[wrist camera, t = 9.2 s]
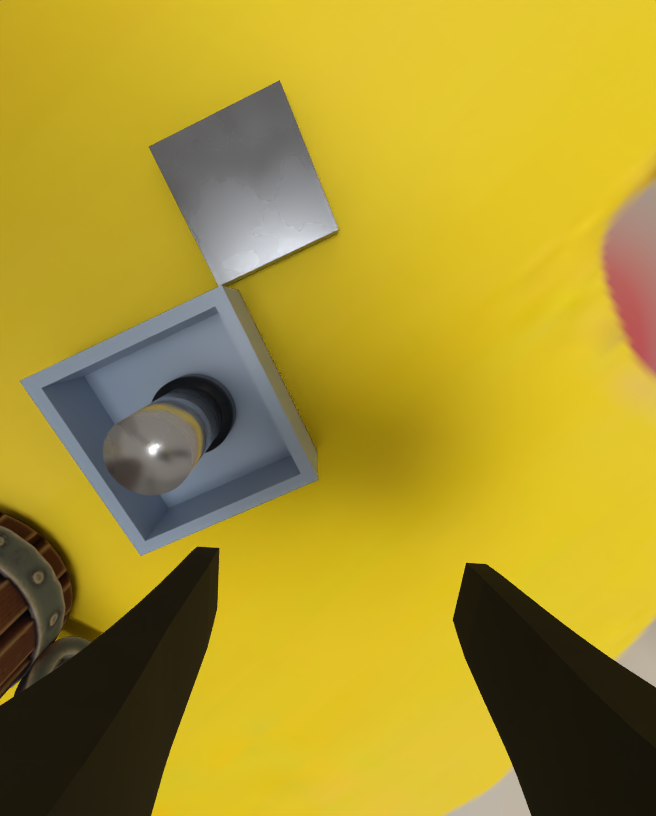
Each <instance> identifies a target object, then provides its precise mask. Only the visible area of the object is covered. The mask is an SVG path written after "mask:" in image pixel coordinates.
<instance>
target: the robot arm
mask: <svg viewBox="0 0 656 816" xmlns="http://www.w3.org/2000/svg"><path fill="white" fill-rule="evenodd" d="M218 571H219V548H209V547H196V548H195V549H194V550H193V551H192V552H191V553H190V554H189V555H188V556H187V557H186V558H185V559H184V560H183V561H182V562H181V563H180V564H179V565H178V566H177V567H176V568H175V569H174V570H173V571H172V572H171V573H170V574H169V575H168V576H167V577H166V578H165V579H164V580H163V581H162V582H161V583H160V584H159V585H158V586H157V587H155V588H154V589H153V590H152V591H151V592H150V593H149V594H148V595H147V596H146V597H145V598H144V599H143V600H142V601H140V602H139V603H138V604H137V605H136V606H135V607H134V608H132V609H131V610H130V611H129V612H128V613H127V614H125V615H124V616H123V617H122V618H121V619H120V620H118V621H117V622H116V623H115V624H114V625H113V626H111V627H110V628H109V629H108V630H107V631H105V632H104V633H103V634H102V635H100V636H99V637H98V638H97V639H95V640H94V641H93V642H92V643H90V644H89V645H88V646H86V647H85V648H84V649H82V650H81V651H80V652H78V653H77V654H76V655H74V656H73V657H72V658H70V659H69V660H68V661H66V662H65V663H63V664H62V665H61V666H59V667H58V668H56V669H55V670H53V671H52V672H51V673H49V674H47V675H46V676H44V677H43V678H41V679H40V680H38V681H37V682H35V683H34V684H32V685H31V686H29V687H28V688H26V689H25V690H23V691H22V692H20V693H19V694H17V695H16V696H14V697H13V698H11V699H10V700H8V701H7V702H5V703H4V704H2V705H0V816H151V814H152V810H153V807H154V803H155V800H156V796H157V792H158V789H159V785H160V782H161V778H162V775H163V771H164V768H165V765H166V762H167V759H168V756H169V753H170V750H171V747H172V744H173V741H174V738H175V735H176V733H177V730H178V727H179V724H180V722H181V719H182V716H183V713H184V711H185V708H186V705H187V702H188V700H189V697H190V694H191V691H192V689H193V686H194V683H195V681H196V678H197V675H198V672H199V669H200V667H201V664H202V661H203V658H204V655H205V653H206V650H207V647H208V643H209V639H210V635H211V631H212V627H213V623H214V619H215V615H216V611H217V600H218ZM453 622H454V625H455V628H456V632H457V635H458V638H459V641H460V644H461V647H462V650H463V653H464V656H465V659H466V661H467V664H468V666H469V668H470V671H471V673H472V675H473V677H474V680H475V682H476V684H477V686H478V689H479V691H480V693H481V695H482V697H483V700H484V702H485V704H486V706H487V708H488V711H489V713H490V715H491V717H492V720H493V722H494V724H495V726H496V728H497V731H498V733H499V735H500V737H501V739H502V742H503V744H504V746H505V748H506V751H507V753H508V755H509V758H510V760H511V762H512V765H513V767H514V770H515V772H516V774H517V777H518V780H519V783H520V785H521V788H522V791H523V794H524V796H525V799H526V802H527V804H528V807H529V810H530V813H531V816H656V688H655V687H654V686H652V685H651V684H649V683H648V682H646V681H645V680H643V679H642V678H640V677H639V676H637V675H636V674H634V673H632V672H631V671H629V670H628V669H626V668H625V667H623V666H622V665H620V664H619V663H617V662H616V661H614V660H613V659H611V658H610V657H608V656H607V655H605V654H604V653H603V652H601V651H600V650H598V649H597V648H596V647H594V646H593V645H591V644H590V643H589V642H587V641H586V640H585V639H583V638H582V637H580V636H579V635H578V634H576V633H575V632H574V631H572V630H571V629H570V628H568V627H567V626H566V625H564V624H563V623H562V622H560V621H559V620H558V619H556V618H555V617H554V616H552V615H551V614H550V613H549V612H547V611H546V610H545V609H543V608H542V607H541V606H540V605H538V604H537V603H536V602H535V601H533V600H532V599H531V598H530V597H528V596H527V595H526V594H525V593H523V592H522V591H521V590H519V589H518V588H517V587H516V586H514V585H513V584H512V583H511V582H509V581H508V580H507V579H506V578H504V577H503V576H502V575H500V574H499V573H498V572H496V571H495V570H494V569H492V568H491V567H489V566H488V565H487V564H475V563H466V566H465V570H464V575H463V579H462V583H461V587H460V592H459V596H458V600H457V604H456V609H455V613H454V617H453Z"/></svg>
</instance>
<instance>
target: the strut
mask: <svg viewBox="0 0 656 816" xmlns="http://www.w3.org/2000/svg"><path fill="white" fill-rule="evenodd" d="M235 419H236V406H235V402H234V399H233V397H232V395H231V393H230V392H229V390H228V389H227V388H226V387H225V386H224V385H223V384H222V383H221V382H219V381H218V380H216V379H214V378H213V377H210V376H207V375H203V374H187V375H183V376H181V377H178V378H176V379H174V380H172V381H170V382H168V383H167V384H165V385H164V386H162V387H161V388H160V389H159V390H158V391H157V393H156V394H155V396H154V398H153V400H152V402H151V403H150V404H148V405H147V406H145V407H143V408H142V409H140V410H138V411H136V412H135V413H133V414H131V415H130V416H128V417H126V418H124V419H123V420H121V421H119V422H118V423H116V424H115V425H114V426H113V427H112V428H111V429H110V430H109V432H108V433H107V435H106V438H105V440H104V444H103V458H104V462H105V465H106V467H107V469H108V471H109V473H110V474H111V476H112V477H113V478H114V479H115V480H116V481H117V482H118V483H119V484H120V485H122V486H123V487H125V488H126V489H128V490H130V491H133V492H135V493H138V494H143V495H161V494H165V493H168V492H170V491H172V490H174V489H176V488H177V487H178V486H180V485H181V484H182V483H183V482H184V480H185V479H186V478H187V476H188V475H189V473H190V472H191V471H192V469H193V468H194V467H195V465H196V464H197V463H198V461H199V460H200V458H201V457H202V456H203V454H204V453H207V452H209V451H212V450H214V449H215V448H217V447H218V446H219V445H220V444H221V443H222V442H223V441H224V440H225V439H226V437H227V436H228V434H229V433H230V431H231V429H232V427H233V425H234V423H235Z"/></svg>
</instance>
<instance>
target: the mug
mask: <svg viewBox="0 0 656 816" xmlns="http://www.w3.org/2000/svg"><path fill="white" fill-rule="evenodd" d="M72 597H73V595H72V586H71V581H70V578H69V575H68V572H67V569H66V567H65V565H64V563H63V561H62V560H61V558H60V556H59V554H58V552H57V551H56V550H55V549H54V548H53V547H52V545H51V544H50V543H49V542H48V541H47V540H46V539H45V537H43V536H42V535H41V534H39V533H38V532H37V531H35V530H34V529H32V528H31V527H30V526H28V525H27V524H26V523H23V522H21V521H19V520H17V519H15V518H12V517H10V516H8V515H6V514H3V513H0V698H1V697H2V696H3V695H4V694H5V693H6V691H7V690H8V689H9V688H11V687H13V686H14V685H15V684H16V683H17V682H18V681H19V680H20V679H21V681H20V682H19V685H18V687H17V689H16V691H15V694H14V696H16V695H17V694H19V693H20V692H22V691H23V690H25V689H26V688H28V687H29V686H31V685H32V684H34V683H35V682H37V681H38V680H40V679H41V678H43V677H44V676H46V675H47V674H49V673H51V672H52V671H53V670H55V669H56V668H58V667H59V666H61V665H62V664H63V663H65V662H66V661H68V660H69V659H70V658H72V657H73V656H74V655H76V654H77V653H78V652H80V651H81V650H82V649H84V648H85V647H86V646H88V645H89V644H90V643H92V642H91V641H88V640H86V639H84V638H82V637H73V636H69V637H65V638H61V639H59V640H57V641H55V640H56V638H57V636H58V634H59V632H60V631H61V629H62V628H63V626H64V625H65V623H66V621H67V613H68V612H69V611H70V610H71V607H72Z"/></svg>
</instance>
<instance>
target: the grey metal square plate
mask: <svg viewBox="0 0 656 816" xmlns="http://www.w3.org/2000/svg"><path fill="white" fill-rule="evenodd" d="M149 148H150V150H151V152H152V154H153V156H154V158H155V160H156V162H157V164H158V166H159V168H160V170H161V172H162V174H163V176H164V178H165V180H166V182H167V184H168V186H169V188H170V190H171V192H172V194H173V196H174V198H175V200H176V202H177V204H178V206H179V208H180V210H181V212H182V214H183V216H184V218H185V220H186V222H187V224H188V226H189V228H190V230H191V232H192V234H193V236H194V238H195V240H196V242H197V244H198V246H199V248H200V250H201V252H202V254H203V256H204V258H205V260H206V262H207V264H208V266H209V268H210V270H211V272H212V274H213V276H214V278H215V280H216V282H217V284H218V286H221V285H222V286H228V285H230V284H232V283H234V282H236V281H239V280H241V279H243V278H245V277H247V276H249V275H251V274H253V273H255V272H258V271H260V270H262V269H264V268H266V267H268V266H270V265H272V264H274V263H277V262H279V261H281V260H283V259H285V258H287V257H289V256H291V255H293V254H296V253H298V252H300V251H302V250H304V249H306V248H308V247H310V246H312V245H315V244H317V243H319V242H321V241H323V240H325V239H327V238H329V237H331V236H334V235H336V234H337V233H338V230H339V229H338V226H337V224H336V221H335V219H334V216H333V214H332V211H331V209H330V206H329V204H328V201H327V199H326V196H325V194H324V191H323V189H322V186H321V183H320V181H319V178H318V176H317V173H316V171H315V168H314V166H313V163H312V161H311V158H310V156H309V153H308V151H307V148H306V146H305V143H304V141H303V138H302V136H301V133H300V131H299V128H298V125H297V123H296V120H295V118H294V115H293V113H292V110H291V108H290V105H289V103H288V100H287V98H286V95H285V93H284V90H283V88H282V85H281V83H280V80H279V81H277V82H275V83H273V84H272V85H270V86H268V87H266V88H264V89H262V90H260V91H258V92H256V93H254V94H252V95H250V96H248V97H246V98H244V99H242V100H240V101H238V102H236V103H234V104H232V105H230V106H228V107H226V108H224V109H222V110H220V111H218V112H216V113H214V114H212V115H210V116H208V117H207V118H205V119H203V120H201V121H199V122H197V123H195V124H193V125H191V126H189V127H187V128H185V129H183V130H181V131H179V132H177V133H175V134H173V135H171V136H169V137H167V138H165V139H163V140H161V141H159V142H157V143H155V144H153V145H151V146H149Z"/></svg>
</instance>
